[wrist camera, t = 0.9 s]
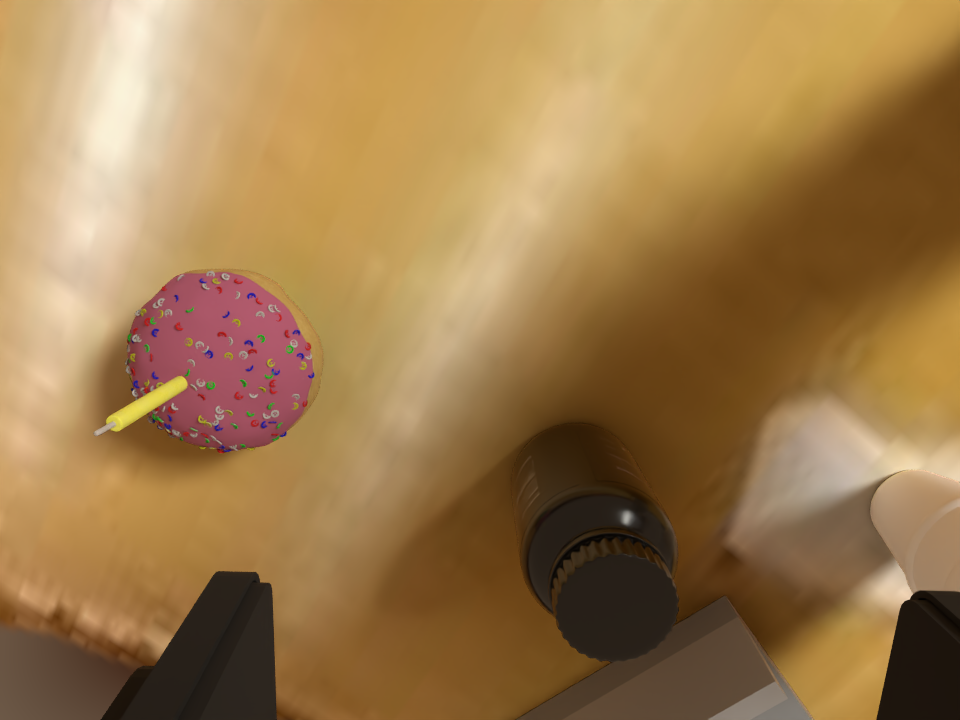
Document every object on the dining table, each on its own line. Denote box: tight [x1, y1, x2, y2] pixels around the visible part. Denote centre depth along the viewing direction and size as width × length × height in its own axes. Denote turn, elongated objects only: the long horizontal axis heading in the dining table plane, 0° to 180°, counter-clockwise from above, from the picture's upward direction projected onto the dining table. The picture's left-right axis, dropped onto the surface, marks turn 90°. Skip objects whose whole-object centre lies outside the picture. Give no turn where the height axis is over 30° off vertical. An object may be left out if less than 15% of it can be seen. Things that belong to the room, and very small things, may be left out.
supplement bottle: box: [511, 423, 679, 662], centre depth 32 cm, size 7×7×12 cm
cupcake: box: [93, 269, 323, 453], centre depth 30 cm, size 9×8×12 cm
